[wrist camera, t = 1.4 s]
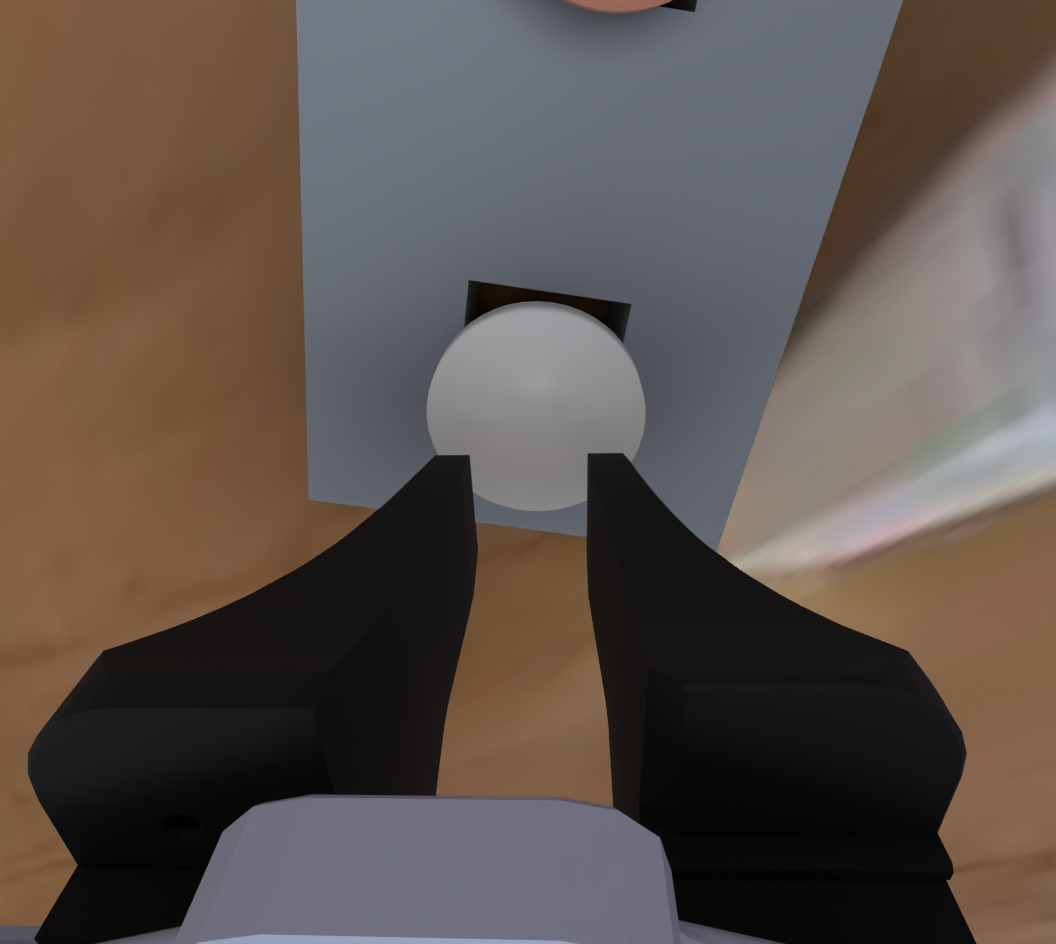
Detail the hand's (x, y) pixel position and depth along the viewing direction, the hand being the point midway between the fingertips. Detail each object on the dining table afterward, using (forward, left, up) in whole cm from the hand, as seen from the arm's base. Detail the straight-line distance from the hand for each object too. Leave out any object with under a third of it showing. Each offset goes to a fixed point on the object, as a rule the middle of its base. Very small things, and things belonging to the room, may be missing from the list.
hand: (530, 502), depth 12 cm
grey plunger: (0, 0, -7) cm, 7 cm away
